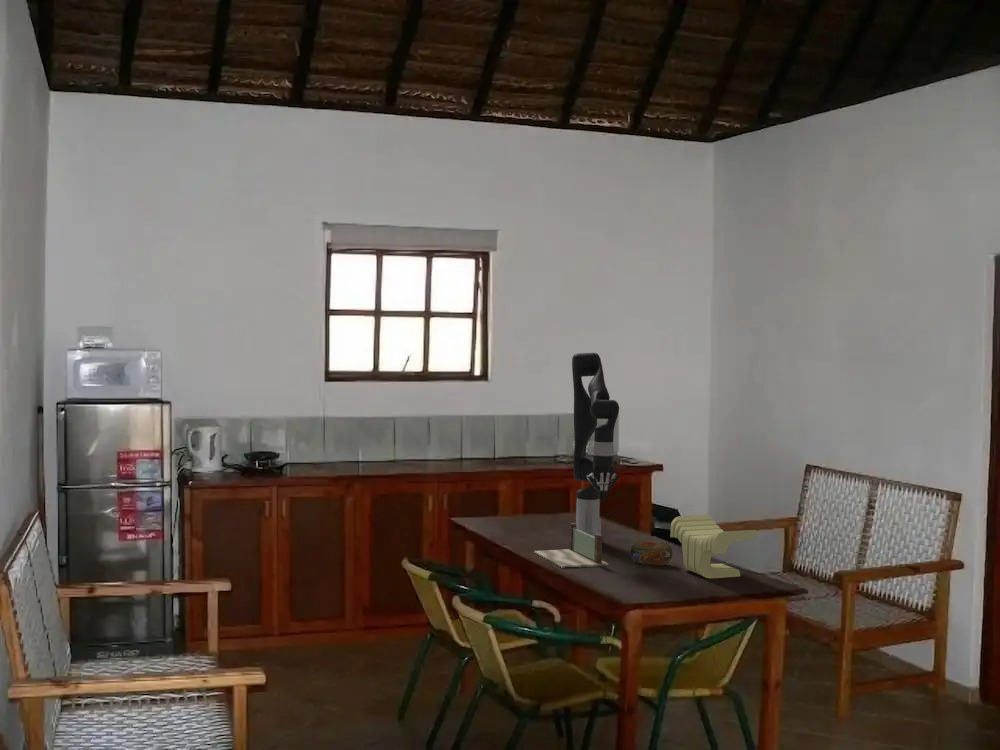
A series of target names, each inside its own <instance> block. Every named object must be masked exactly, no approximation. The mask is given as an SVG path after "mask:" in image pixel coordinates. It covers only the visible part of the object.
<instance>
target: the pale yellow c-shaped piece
mask: <svg viewBox="0 0 1000 750" xmlns="http://www.w3.org/2000/svg"><path fill="white" fill-rule="evenodd" d="M670 538H676V539H678V541H679V542H680V543H681V550H682V558H683V567H684V569H686V570H687V571H689V572H692V573H694V574H696V575H700V576H702V577H703V578H706V579H719V578H721V579H723V578H735V577H737V578H738V577H741V572H740V570H739V569H737V568H734V567H732V566H728V565H726V564H725V563H711V558H712V557H713V554H714V555H720V554H721V555H722V554H723V555H724V554H726V553H727V550H728V547H729V546H730V545H731V544H733V543H738V542H741V543H742V541H747V540H752V539H756V538H757V529H745V530H724V529H721V527H720V526H719V525H718V524H717V522H716V521H715V520H714V519H713V518H712V516H711V515H710V514H700V515H699V514H697V515H679V516H676V517H674V518H673V520H672V521H671V523H670Z"/></svg>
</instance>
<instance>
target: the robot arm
mask: <svg viewBox="0 0 1000 750" xmlns="http://www.w3.org/2000/svg"><path fill="white" fill-rule="evenodd" d="M571 368H572V369H571V371H572V373H571V374H572V383H573V385H572V386H573V430H574V431H573V432H574V434H573V435H574V436H573V437H574V439H573V441H574V447H573V463H572V464H573V467H572V471H573V477H574V480H576V481H579V482H588V483H590V484H589V486H587V487H586V488H582V489H578V490H577V491H576V503H575V505H576V506H575V508H576V509H575V510H576V511H575V513H576V515H575V523H576V527H577V529H578V530H581V531H583V532H585V533H587V534H589V535H592V536H594V537H595V535H598V534H600V535H602V517H600V508H601V507H600V504H601V502H605V501H606V500H607V497H608V493H607V492H608V490H611V489H613V487H614V486H615V484H616V483H617V482H618V480H619V479H620V475H619V474H616V473H615V470H614V456H615V451H614V450H615V447H614V433H615V427H616V422H617V420H618V419H617V418H618V416H619V413H620V406H619V403H618V402H617V401H616V400H614V399H610V393H609V391H608V389H607V386H606V382H605V375H604V369H603V365H602V359H601V357H600V354H599V353H596V352H579V353H578V352H577V353H574V354H573V356H572V359H571ZM582 377H592V378H591V380H590V382H589V383H588V386H587V390H588V391H586V387H585V386H584V384H583V380H582ZM587 392H588V393H587ZM598 420H607V421H606V423H604V424H600V425H598ZM593 434H594V438H593V439H594V440H593V441H594V442H593V450H592V457H585V456H584V455H585V454H584V453H585V448H586V445H588V442H589V441H590V439H591V437H592V436H593Z"/></svg>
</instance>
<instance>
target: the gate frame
mask: <svg viewBox="0 0 1000 750" xmlns="http://www.w3.org/2000/svg"><path fill="white" fill-rule="evenodd" d="M573 527H576V522H569V527H568V528H569V529H568V530H569V531H568V532H569V533H568V548H567V549H565V548H564V549H548V550H547V549H545V550H534V551H533V553H534V554H535V553H536V554H535V555H537V554H538V555H539V556H538V555H537V556H538V557H540V556H541V558H542V557H543V558H542V559H544V558H545V559H544V560H546V559H547V560H549V561H550V562H549V561H548V562H549V563H551V562H552V563H551V564H553V563H554V564H553V565H555V564H556V565H558V566H559V567H558V566H557V567H558V568H560V567H561V569H566V568H565V567H579V568H592V567H593V568H595V567H608V566H609V563H608V562H606V561H604V560H603V559H602V558H603V535H602V534H601V535H600V534H598V535H595V552H594V560H592V559H590V558H588V557H586V556H584V555H582V554H580V553H578V552H576V551H574V550H573ZM547 560H546V561H547ZM556 565H555V566H556Z"/></svg>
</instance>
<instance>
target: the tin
mask: <svg viewBox="0 0 1000 750" xmlns="http://www.w3.org/2000/svg"><path fill="white" fill-rule="evenodd" d="M630 556H631V558H632V560H633V561H634V562H635V563H637V564H639V563H642V564H641V565H650V564H652V565H653V566H665V565H667V564H668V563H670V562H671V560H672V558H673V549H672V547H671V546H670V545H669V544H668V543H667V542H664V541H654V540H653V541H651V540H638V541H636V542H634V543H633V544H632V546H631V549H630Z"/></svg>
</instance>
